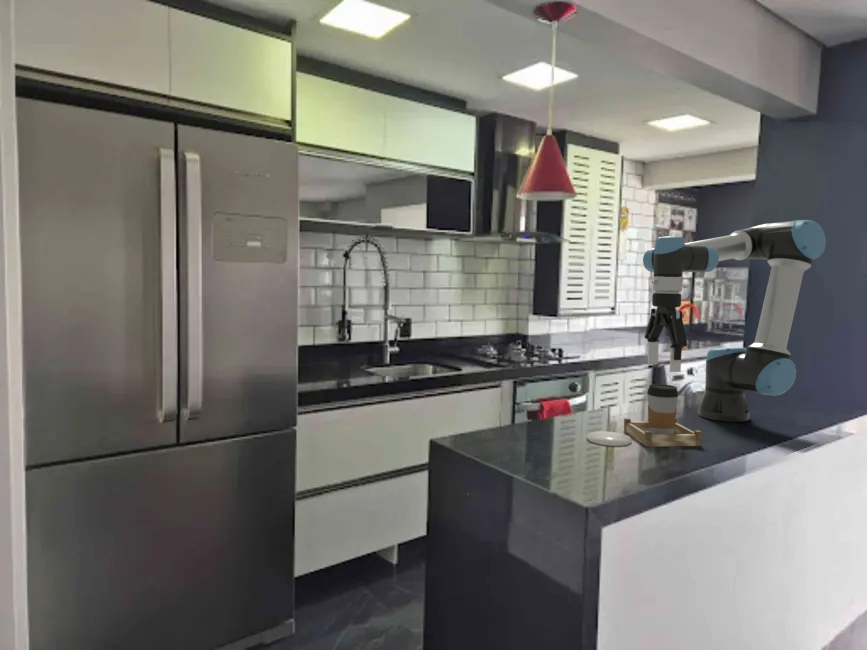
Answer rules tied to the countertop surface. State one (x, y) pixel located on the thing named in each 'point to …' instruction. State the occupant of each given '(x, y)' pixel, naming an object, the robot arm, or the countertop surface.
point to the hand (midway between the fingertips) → (663, 367)
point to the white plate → (609, 438)
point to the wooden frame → (645, 436)
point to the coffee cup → (662, 408)
